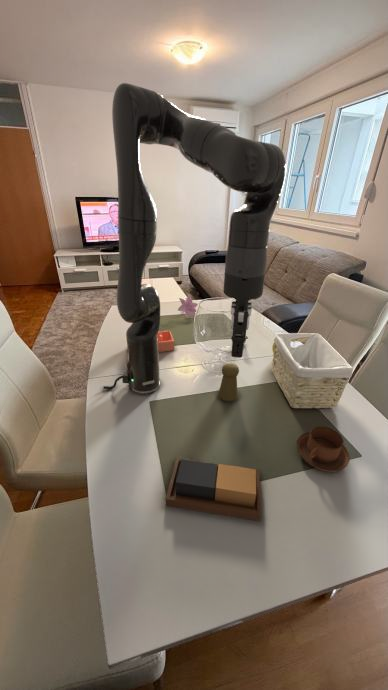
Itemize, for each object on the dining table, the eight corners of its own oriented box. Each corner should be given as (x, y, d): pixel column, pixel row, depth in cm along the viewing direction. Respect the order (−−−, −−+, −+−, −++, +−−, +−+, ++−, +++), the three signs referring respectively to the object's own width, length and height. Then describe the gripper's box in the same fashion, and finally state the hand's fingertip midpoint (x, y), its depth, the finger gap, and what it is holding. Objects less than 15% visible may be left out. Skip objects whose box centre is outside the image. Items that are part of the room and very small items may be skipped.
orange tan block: (214, 500, 62) (215, 487, 60) (217, 476, 67) (218, 463, 65) (253, 507, 60) (256, 494, 59) (253, 481, 66) (255, 469, 64)
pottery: (170, 339, 127) (169, 318, 122) (174, 350, 119) (174, 327, 114) (127, 343, 123) (125, 321, 118) (128, 354, 115) (126, 331, 110)
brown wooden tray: (165, 505, 61) (165, 499, 60) (176, 463, 70) (176, 457, 69) (260, 521, 59) (261, 514, 58) (258, 475, 68) (259, 469, 67)
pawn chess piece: (236, 402, 91) (240, 372, 86) (217, 399, 92) (219, 369, 87) (238, 390, 96) (241, 361, 91) (219, 388, 97) (221, 359, 92)
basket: (267, 368, 108) (273, 331, 101) (311, 368, 109) (320, 331, 102) (289, 412, 87) (298, 370, 80) (342, 411, 88) (356, 369, 81)
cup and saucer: (343, 485, 66) (350, 465, 63) (289, 461, 72) (294, 442, 69) (350, 449, 75) (357, 431, 72) (302, 430, 81) (306, 413, 78)
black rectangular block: (175, 494, 63) (175, 482, 61) (181, 471, 68) (181, 458, 66) (213, 500, 62) (214, 488, 60) (216, 476, 67) (217, 464, 65)
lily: (173, 320, 147) (180, 307, 141) (171, 304, 155) (178, 290, 148) (195, 325, 152) (203, 312, 145) (192, 309, 159) (200, 296, 153)
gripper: (227, 261, 62) (222, 331, 70) (222, 279, 50) (216, 362, 57) (263, 263, 61) (254, 333, 69) (267, 282, 49) (256, 365, 56)
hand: (237, 346), depth 63 cm, fingers open, 8 cm apart
